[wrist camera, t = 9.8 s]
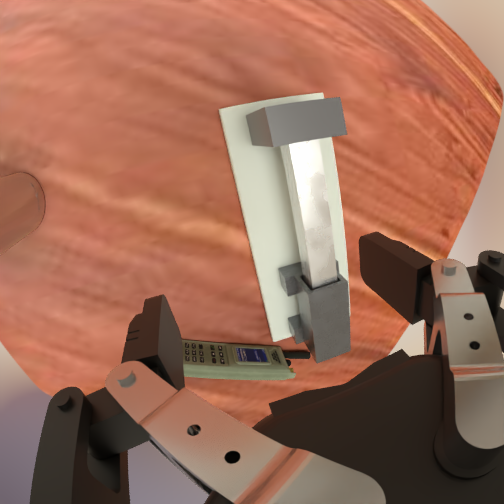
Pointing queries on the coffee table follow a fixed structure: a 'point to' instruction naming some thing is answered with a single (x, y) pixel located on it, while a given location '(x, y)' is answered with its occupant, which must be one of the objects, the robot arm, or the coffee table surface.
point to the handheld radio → (237, 361)
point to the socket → (296, 122)
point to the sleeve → (319, 313)
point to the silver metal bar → (310, 212)
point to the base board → (276, 208)
